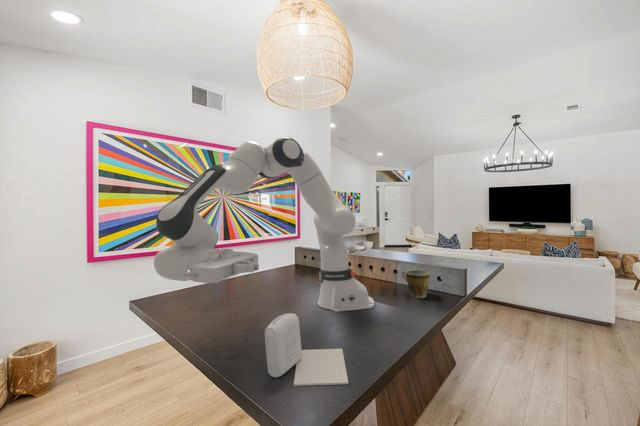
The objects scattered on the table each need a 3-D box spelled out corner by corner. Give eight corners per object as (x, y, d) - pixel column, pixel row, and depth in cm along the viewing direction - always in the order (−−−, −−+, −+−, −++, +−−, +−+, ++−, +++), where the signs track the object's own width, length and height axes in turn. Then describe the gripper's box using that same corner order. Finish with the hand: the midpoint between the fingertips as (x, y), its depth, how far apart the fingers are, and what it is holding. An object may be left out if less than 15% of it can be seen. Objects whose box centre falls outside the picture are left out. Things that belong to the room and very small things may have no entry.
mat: (342, 350, 78) (342, 348, 78) (348, 384, 63) (348, 382, 63) (298, 351, 78) (298, 350, 78) (293, 385, 63) (293, 384, 63)
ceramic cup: (435, 296, 121) (434, 272, 121) (420, 301, 115) (420, 276, 115) (410, 289, 132) (409, 267, 132) (395, 293, 126) (395, 271, 126)
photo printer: (291, 354, 76) (287, 308, 75) (304, 357, 73) (300, 309, 73) (265, 375, 67) (260, 323, 67) (279, 380, 65) (274, 326, 64)
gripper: (178, 260, 65) (230, 263, 61) (231, 248, 85) (273, 249, 81) (179, 288, 65) (231, 292, 61) (232, 269, 85) (274, 271, 81)
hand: (255, 267), depth 71 cm, fingers closed
